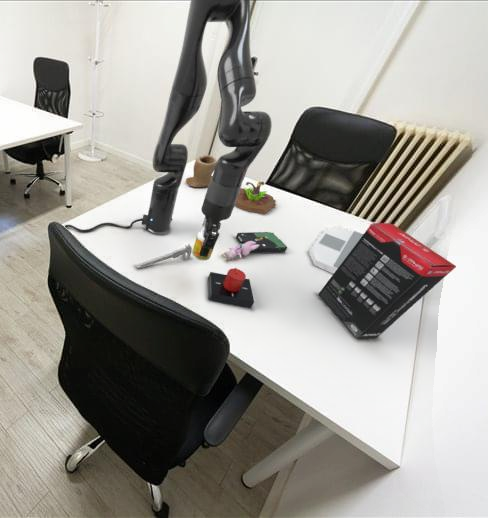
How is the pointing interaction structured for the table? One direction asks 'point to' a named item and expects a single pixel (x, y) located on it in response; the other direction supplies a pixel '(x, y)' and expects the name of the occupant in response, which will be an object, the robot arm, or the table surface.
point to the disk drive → (263, 242)
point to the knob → (234, 280)
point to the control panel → (229, 292)
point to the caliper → (168, 256)
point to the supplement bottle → (198, 247)
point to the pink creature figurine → (240, 250)
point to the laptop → (343, 240)
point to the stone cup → (202, 171)
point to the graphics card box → (382, 279)
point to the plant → (255, 199)
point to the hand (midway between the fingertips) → (202, 249)
